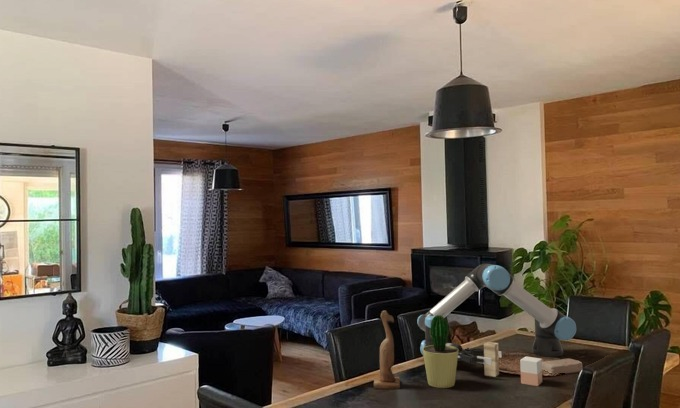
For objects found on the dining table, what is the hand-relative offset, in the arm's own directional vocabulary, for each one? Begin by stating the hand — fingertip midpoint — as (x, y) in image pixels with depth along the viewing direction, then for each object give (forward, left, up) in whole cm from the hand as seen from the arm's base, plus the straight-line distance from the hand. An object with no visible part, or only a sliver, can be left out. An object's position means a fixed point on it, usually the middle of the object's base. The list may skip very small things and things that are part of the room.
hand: (496, 358), depth 232 cm
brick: (-23, +23, -8) cm, 33 cm away
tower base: (+2, +16, -8) cm, 18 cm away
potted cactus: (+24, -16, -8) cm, 30 cm away
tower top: (+2, +16, -3) cm, 16 cm away
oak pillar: (0, -2, -8) cm, 8 cm away
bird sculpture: (+38, -36, -8) cm, 53 cm away
